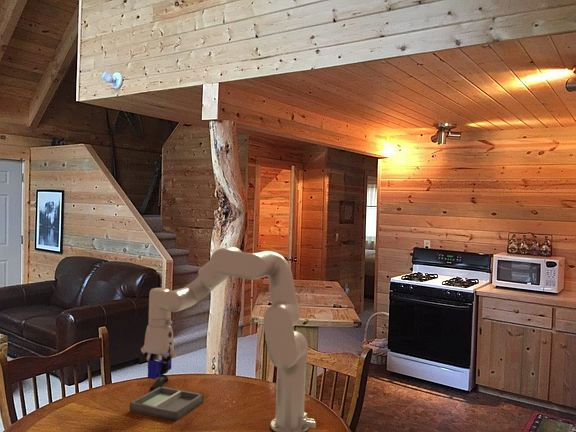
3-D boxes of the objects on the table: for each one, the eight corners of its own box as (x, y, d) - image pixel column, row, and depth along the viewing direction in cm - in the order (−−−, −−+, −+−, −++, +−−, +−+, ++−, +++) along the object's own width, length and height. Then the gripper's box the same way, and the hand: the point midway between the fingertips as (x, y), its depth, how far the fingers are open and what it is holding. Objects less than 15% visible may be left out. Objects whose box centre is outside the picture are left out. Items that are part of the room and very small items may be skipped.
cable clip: (160, 367, 189) (160, 351, 189) (171, 368, 188) (171, 352, 188) (143, 377, 178) (144, 360, 178) (155, 379, 177) (155, 362, 177)
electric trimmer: (146, 394, 194) (146, 386, 194) (160, 380, 209) (160, 372, 209) (156, 395, 193) (156, 386, 193) (168, 380, 209) (169, 373, 209)
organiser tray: (203, 402, 186) (203, 394, 186) (175, 421, 170) (175, 412, 169) (160, 394, 193) (160, 386, 193) (129, 411, 176) (129, 402, 176)
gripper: (185, 323, 183) (183, 372, 183) (146, 317, 189) (144, 366, 189) (173, 327, 176) (171, 379, 176) (133, 321, 182) (131, 371, 182)
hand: (157, 371), depth 183 cm, fingers closed on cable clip, 5 cm apart
